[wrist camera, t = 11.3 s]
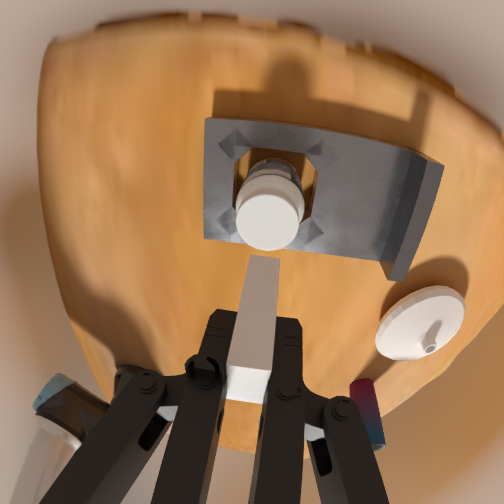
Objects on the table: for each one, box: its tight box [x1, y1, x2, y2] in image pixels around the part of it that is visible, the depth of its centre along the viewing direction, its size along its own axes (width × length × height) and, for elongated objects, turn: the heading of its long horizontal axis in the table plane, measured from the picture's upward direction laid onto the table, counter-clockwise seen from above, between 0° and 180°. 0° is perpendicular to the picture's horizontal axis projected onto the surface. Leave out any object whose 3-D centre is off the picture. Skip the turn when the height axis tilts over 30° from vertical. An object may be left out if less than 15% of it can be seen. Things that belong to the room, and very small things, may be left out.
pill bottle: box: [236, 158, 305, 251], centre depth 24 cm, size 6×6×10 cm
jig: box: [203, 116, 444, 282], centre depth 25 cm, size 22×13×6 cm, turn 86°
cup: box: [349, 379, 386, 452], centre depth 41 cm, size 7×7×15 cm
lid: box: [375, 285, 465, 361], centre depth 33 cm, size 16×16×7 cm
